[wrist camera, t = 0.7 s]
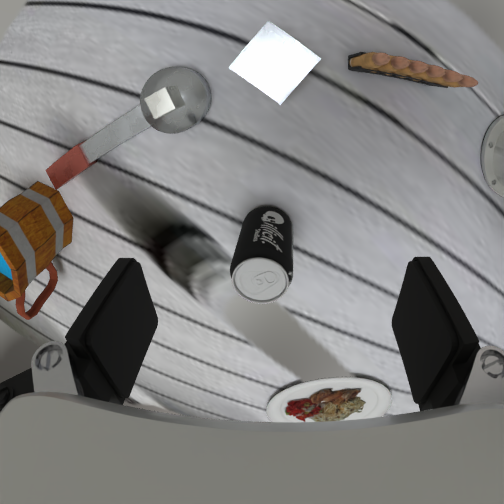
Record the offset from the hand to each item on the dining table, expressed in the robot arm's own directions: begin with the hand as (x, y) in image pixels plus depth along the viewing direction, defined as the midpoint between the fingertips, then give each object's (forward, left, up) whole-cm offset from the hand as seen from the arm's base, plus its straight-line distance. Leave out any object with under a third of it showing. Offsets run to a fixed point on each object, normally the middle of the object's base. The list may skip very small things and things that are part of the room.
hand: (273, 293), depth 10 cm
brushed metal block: (-6, -6, -28) cm, 29 cm away
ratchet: (+12, -18, -28) cm, 35 cm away
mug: (+36, -23, -28) cm, 51 cm away
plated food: (+38, +47, -29) cm, 67 cm away
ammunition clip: (-15, +4, -28) cm, 32 cm away
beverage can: (+11, +6, -28) cm, 31 cm away
